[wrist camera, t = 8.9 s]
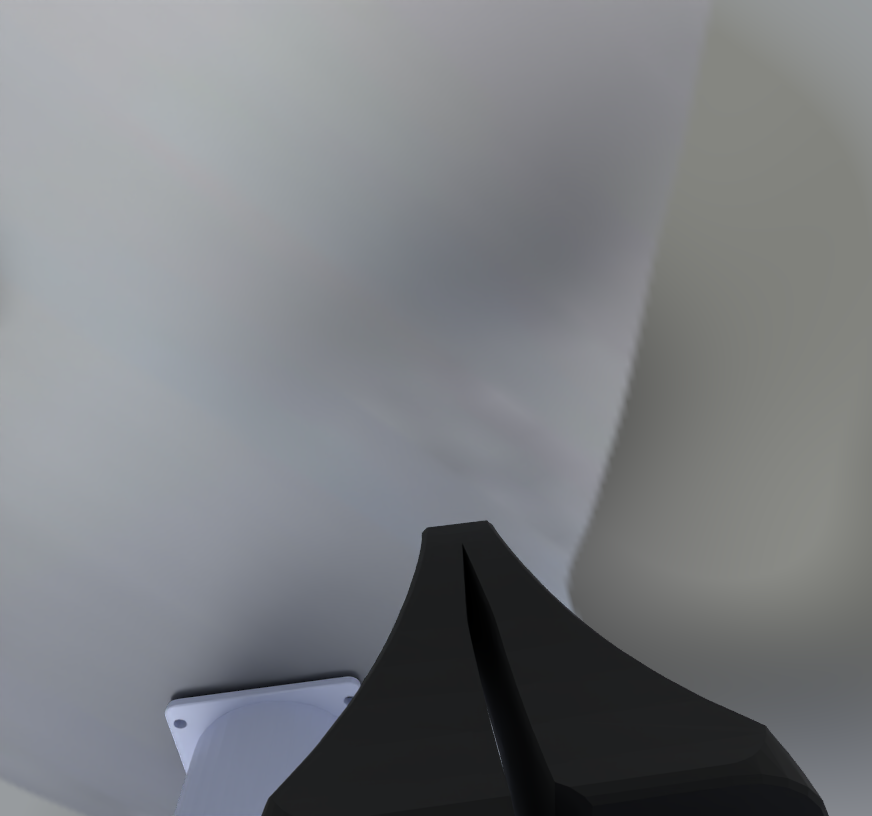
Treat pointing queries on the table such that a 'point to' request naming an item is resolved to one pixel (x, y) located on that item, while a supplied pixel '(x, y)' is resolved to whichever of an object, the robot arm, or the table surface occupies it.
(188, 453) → the table surface
